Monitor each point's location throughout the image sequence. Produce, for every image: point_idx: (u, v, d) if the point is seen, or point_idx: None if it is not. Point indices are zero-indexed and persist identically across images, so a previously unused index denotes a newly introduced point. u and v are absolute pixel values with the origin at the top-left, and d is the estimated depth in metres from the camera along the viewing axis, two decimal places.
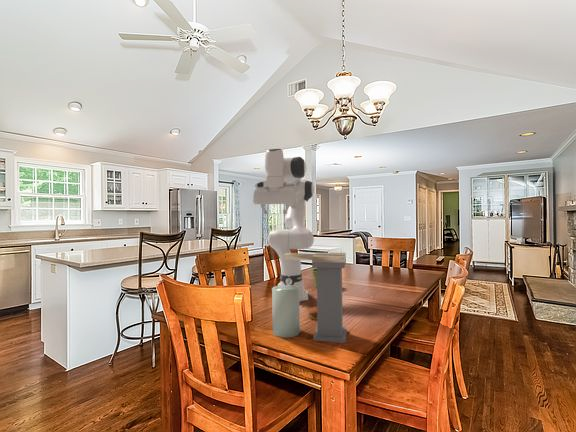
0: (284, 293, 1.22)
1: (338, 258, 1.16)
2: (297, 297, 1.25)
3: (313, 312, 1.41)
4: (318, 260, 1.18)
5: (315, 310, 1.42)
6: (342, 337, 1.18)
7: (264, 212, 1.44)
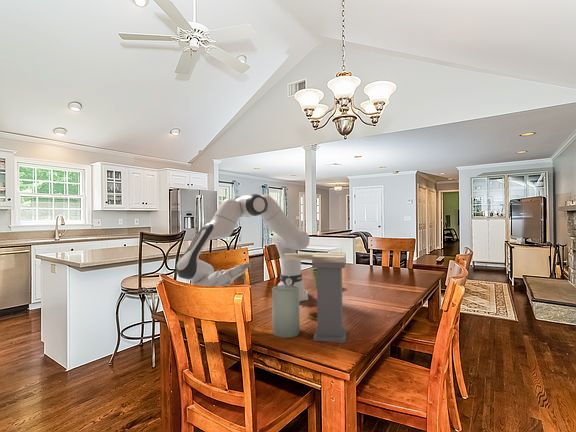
0: (284, 293, 1.22)
1: (338, 258, 1.16)
2: (297, 297, 1.25)
3: (313, 312, 1.41)
4: (318, 260, 1.18)
5: (315, 310, 1.42)
6: (342, 337, 1.18)
7: (249, 266, 1.36)
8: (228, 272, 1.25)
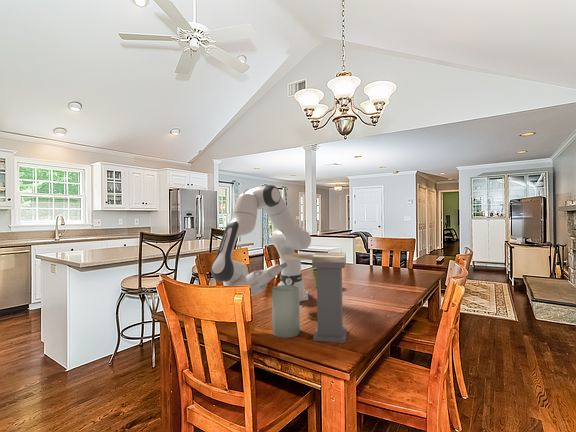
0: (284, 293, 1.22)
1: (338, 258, 1.16)
2: (297, 297, 1.25)
3: (312, 312, 1.41)
4: (318, 260, 1.18)
5: (314, 310, 1.42)
6: (342, 337, 1.18)
7: (286, 266, 1.32)
8: (268, 272, 1.21)
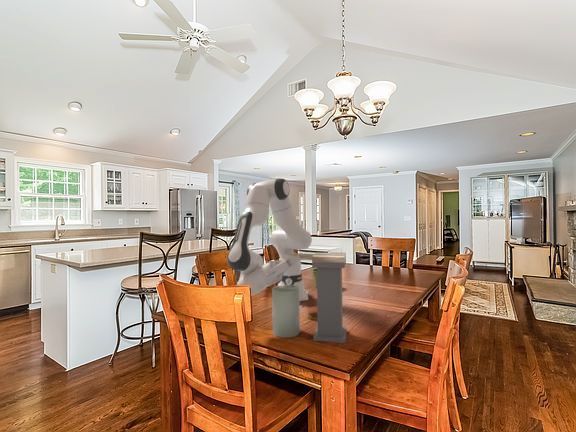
0: (284, 293, 1.22)
1: (338, 258, 1.16)
2: (297, 297, 1.25)
3: (312, 312, 1.41)
4: (318, 260, 1.18)
5: (314, 310, 1.42)
6: (342, 337, 1.18)
7: None
8: (286, 261, 1.20)
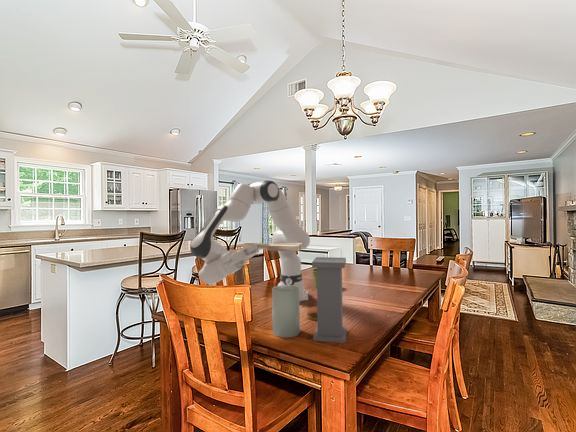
0: (284, 293, 1.22)
1: (292, 247, 1.20)
2: (297, 297, 1.25)
3: (311, 312, 1.41)
4: (273, 249, 1.22)
5: (313, 310, 1.42)
6: (342, 337, 1.18)
7: None
8: (242, 250, 1.23)
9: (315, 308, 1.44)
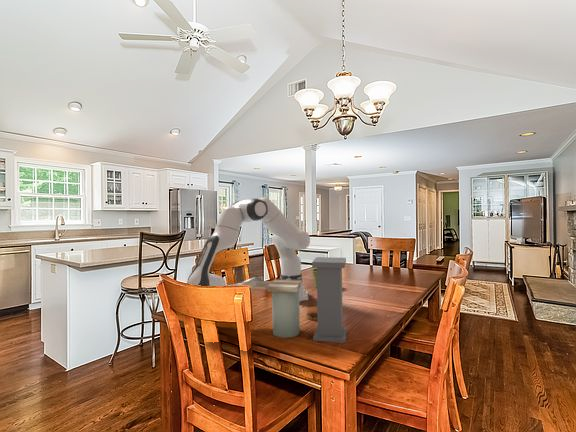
0: (284, 293, 1.22)
1: (291, 288, 1.21)
2: (297, 297, 1.25)
3: (311, 312, 1.41)
4: (272, 290, 1.22)
5: (313, 310, 1.42)
6: (342, 337, 1.18)
7: (261, 280, 1.34)
8: None
9: (314, 308, 1.44)
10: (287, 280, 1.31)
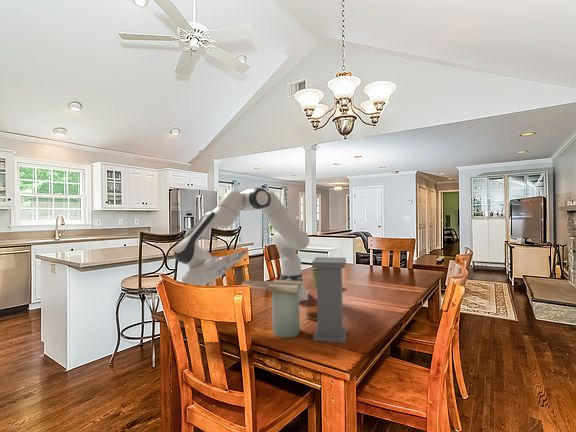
0: (284, 293, 1.22)
1: (291, 288, 1.21)
2: (297, 297, 1.25)
3: (310, 312, 1.41)
4: (272, 290, 1.22)
5: (312, 310, 1.42)
6: (342, 337, 1.18)
7: (245, 253, 1.36)
8: (225, 258, 1.25)
9: (314, 308, 1.44)
10: (287, 280, 1.32)
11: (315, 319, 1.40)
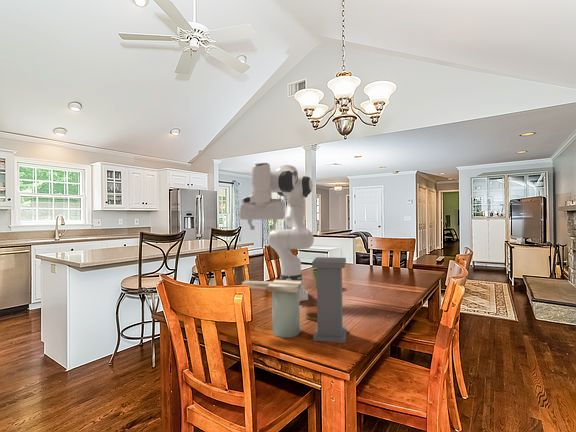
0: (284, 293, 1.22)
1: (291, 288, 1.21)
2: (297, 297, 1.25)
3: (310, 312, 1.41)
4: (272, 290, 1.22)
5: (312, 310, 1.42)
6: (342, 337, 1.18)
7: (251, 228, 1.41)
8: None
9: (314, 308, 1.44)
10: (287, 280, 1.32)
11: (315, 319, 1.40)
